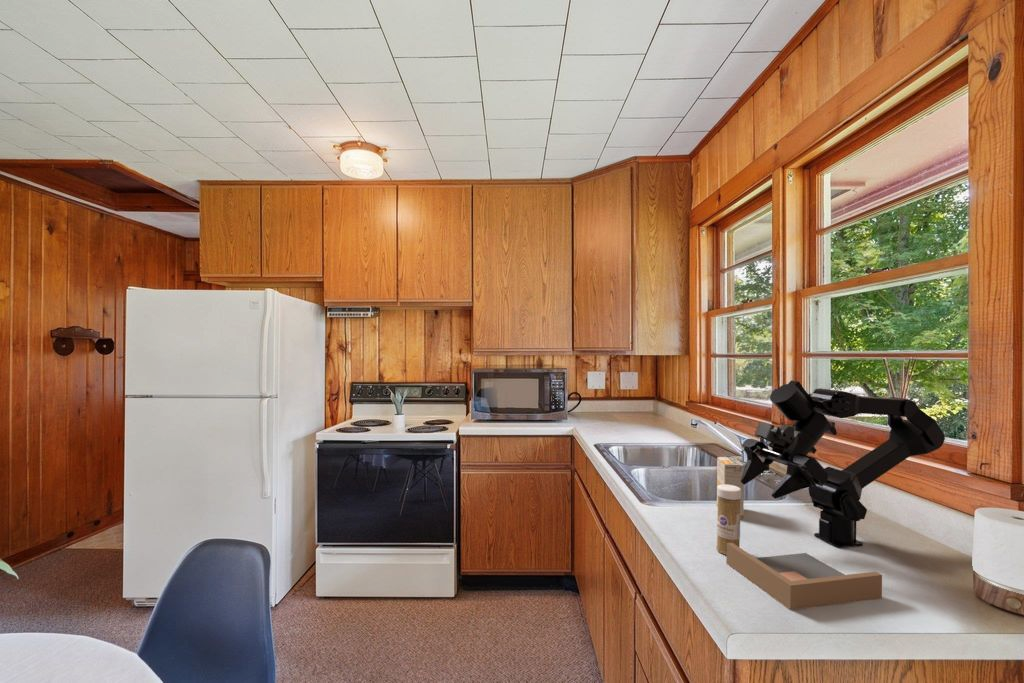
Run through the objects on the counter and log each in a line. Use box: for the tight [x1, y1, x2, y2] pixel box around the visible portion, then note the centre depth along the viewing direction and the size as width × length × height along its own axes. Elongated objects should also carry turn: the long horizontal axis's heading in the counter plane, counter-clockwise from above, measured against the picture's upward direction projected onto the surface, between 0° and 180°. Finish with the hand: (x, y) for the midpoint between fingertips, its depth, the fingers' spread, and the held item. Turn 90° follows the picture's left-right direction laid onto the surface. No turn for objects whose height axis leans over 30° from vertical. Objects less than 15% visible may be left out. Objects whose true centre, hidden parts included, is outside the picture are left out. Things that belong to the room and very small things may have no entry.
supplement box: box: [716, 456, 745, 519], centre depth 122 cm, size 8×5×13 cm, turn 168°
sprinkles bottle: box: [716, 484, 741, 556], centre depth 99 cm, size 5×5×14 cm
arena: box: [726, 543, 883, 611], centre depth 88 cm, size 18×16×4 cm
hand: (757, 489), depth 100 cm, fingers open, 9 cm apart
